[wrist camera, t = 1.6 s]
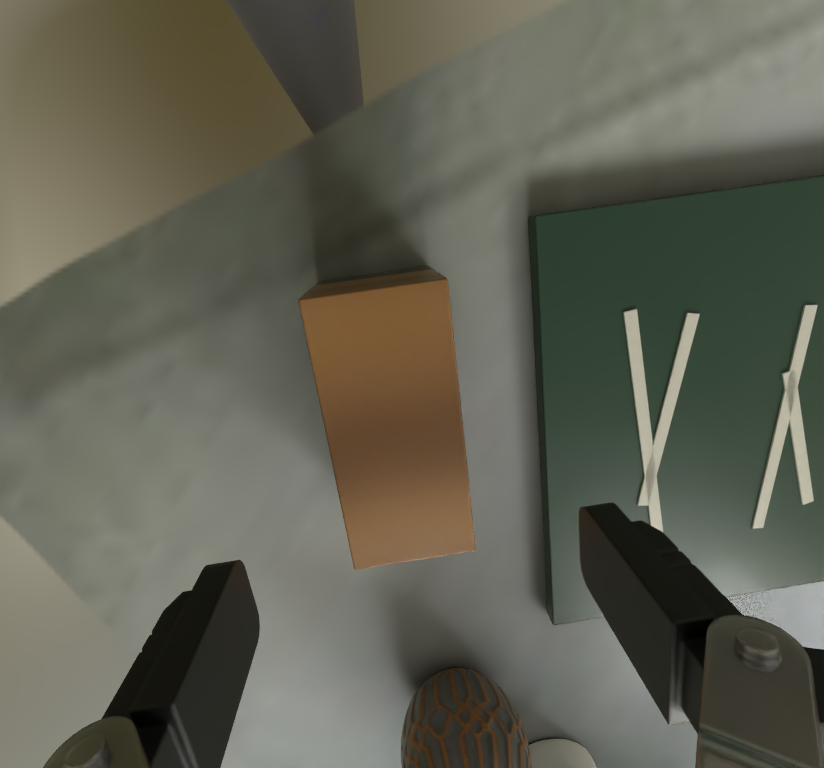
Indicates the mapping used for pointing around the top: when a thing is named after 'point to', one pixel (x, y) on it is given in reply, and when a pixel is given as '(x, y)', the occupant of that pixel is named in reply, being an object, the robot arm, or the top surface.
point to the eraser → (392, 413)
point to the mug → (559, 754)
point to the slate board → (684, 381)
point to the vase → (463, 725)
